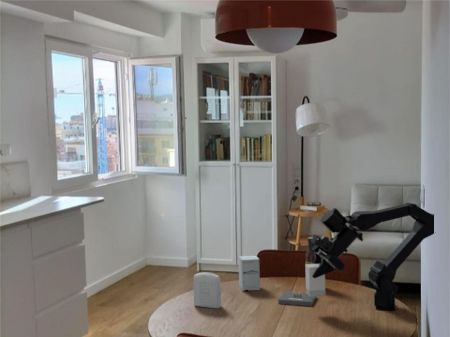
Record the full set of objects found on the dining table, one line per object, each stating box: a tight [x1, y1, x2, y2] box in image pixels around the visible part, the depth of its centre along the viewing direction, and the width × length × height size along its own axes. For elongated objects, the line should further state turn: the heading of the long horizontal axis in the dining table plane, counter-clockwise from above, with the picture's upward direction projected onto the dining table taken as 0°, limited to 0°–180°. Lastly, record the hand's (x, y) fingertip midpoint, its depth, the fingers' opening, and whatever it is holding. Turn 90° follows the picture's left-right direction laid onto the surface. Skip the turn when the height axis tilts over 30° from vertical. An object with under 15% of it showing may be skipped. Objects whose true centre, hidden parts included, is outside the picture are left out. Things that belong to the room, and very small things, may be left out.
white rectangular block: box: [304, 263, 326, 297], centre depth 181 cm, size 6×4×10 cm
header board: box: [278, 291, 317, 307], centre depth 196 cm, size 12×10×3 cm
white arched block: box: [193, 271, 222, 309], centre depth 192 cm, size 10×4×12 cm, turn 67°
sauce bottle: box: [305, 236, 315, 264], centre depth 211 cm, size 6×6×20 cm
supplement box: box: [238, 255, 261, 292], centre depth 213 cm, size 7×7×13 cm
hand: (311, 275), depth 181 cm, fingers closed on white rectangular block, 4 cm apart
